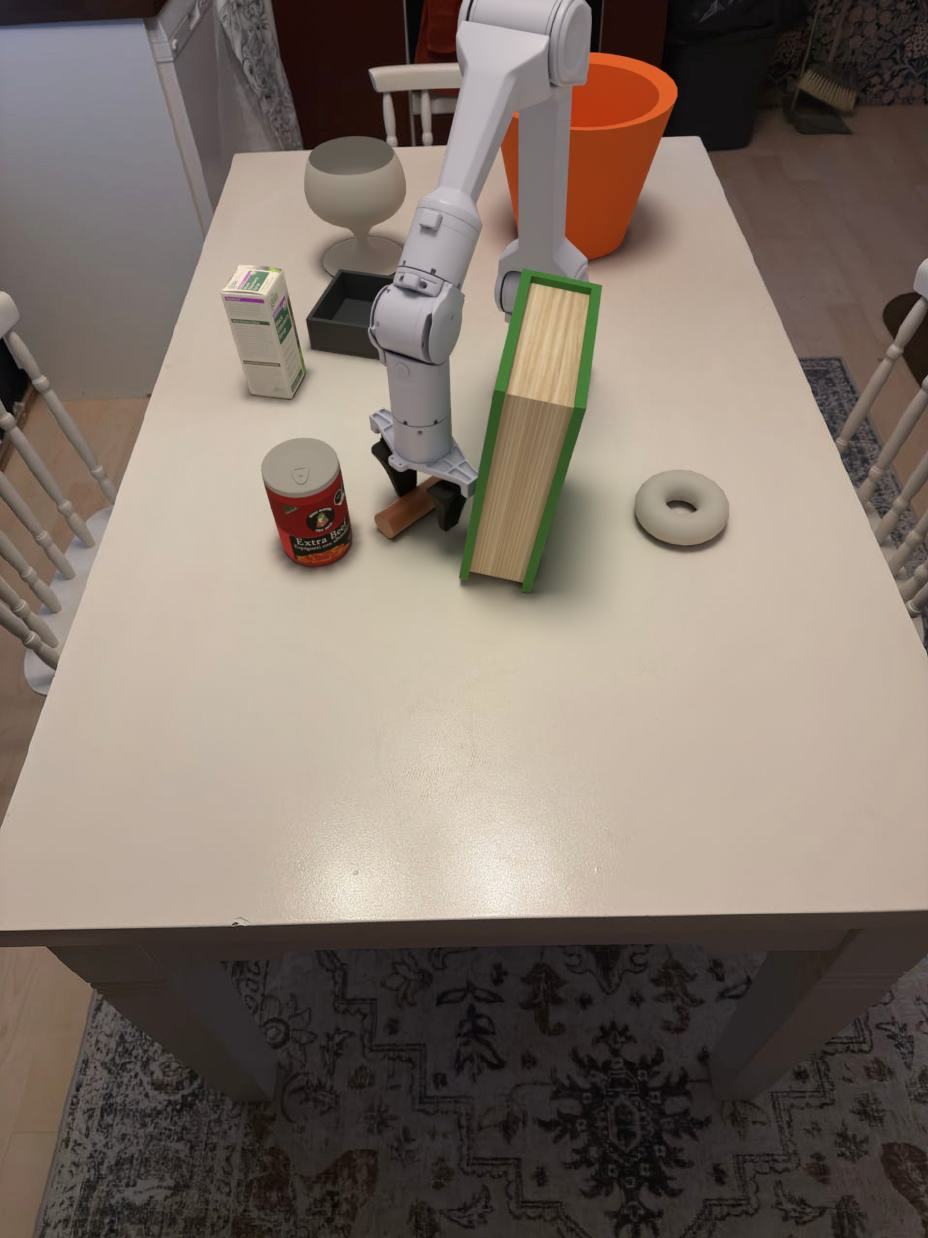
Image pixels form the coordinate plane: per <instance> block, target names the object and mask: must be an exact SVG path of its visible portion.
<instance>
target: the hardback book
mask: <svg viewBox="0 0 928 1238" xmlns="http://www.w3.org/2000/svg"><path fill="white" fill-rule="evenodd" d="M602 291H603V285H602V284H600V283H599V284H598V283H594V282H590V281H589V282H585V281H580V280H576V279H571V278H566V277H561V276H557V275H552V274H547V273H542V272H538V271H533V270H528V269H524V268H523V270H522V274H521V278H520V282H519V286H518V291H517V295H516V299H515V303H514V307H513V312H512V316H511V320H510V324H509V323H508V327H507V328H508V329H507V334H506V337H505V341H504V345H503V350H502V353H501V358H500V363H499V366H498V371H497V375H496V379H495V384H494V388H493V393H492V398H491V403H490V409H489V414H488V419H487V424H486V430H485V434H484V441H483V447H482V452H481V457H480V463H479V467H478V478H477V483H476V488H475V494H474V495H473V499H472V505H471V511H470V515H469V521H468V526H467V533H466V537H465V538H466V539H465V542H464V549H463V554H462V558H461V564H460V569H459V574H458V579H460V580H465V581H469V580H468V579H469V575H470V572H471V573H476V574H480V575H486V576H490V577H495V578H499V579H505V580H509V581H513V582H519V583H521V589H520V592H522V593H526V594H531V591H532V587H533V585H534V581H535V579H536V575H537V572H538V568H539V566H540V563H541V558H542V555H543V552H544V548H545V546H546V542H547V539H548V537H549V536H548V534H549V532H550V529H551V526H552V522H553V519H554V516H555V513H556V510H557V506H558V502H559V501H560V497H561V493H562V490H563V486H564V483H565V479H566V476H567V475H568V474H567V473H568V471H569V467H570V464H571V460H572V457H573V453H574V450H575V447H576V445H577V444H576V443H577V441H578V437H579V434H580V431H581V427H582V424H583V421H584V418H585V415H586V411H587V405H588V398H589V391H590V382H591V375H592V367H593V360H594V354H595V353H594V352H595V345H596V336H597V331H598V321H599V316H600V315H599V314H600V307H601V306H600V305H601V298H602Z"/></svg>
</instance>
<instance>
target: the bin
mask: <svg viewBox="0 0 928 1238" xmlns="http://www.w3.org/2000/svg"><path fill="white" fill-rule="evenodd" d="M394 277H395V275H389V276H388V275H380V274H373V273H365V272H358V271H351V270H343V269H339V270H338V272H337V273H336V275H335V276H333V277H332V279H331V280H330V282H329V283H328V285H327V286H326V288H325V289H324V290H323V292H322V293H321V296H320V297H319V298H318V300H317V301H316V302H315V304H314V306H313V307H312V308H311V310H310V311H309V313H308V314H307V316H306V317H305V323H306V328H307V333H308V338H309V343H310V348H311V350H314V351H315V350H316V351H323V352H328V353H334V354H335V353H336V354H341V355H346V356H347V355H348V356H353V357H360V358H366V359H373V360H374V359H375V360H379V361H380V357H379V351H378V349H377V348H376V347H375V346H374V345H373V344H372V343H371V341H370V338H369V334H368V329H369V327H370V315H371V309H372V306H373V303H374V300H375V298H376V296H377V294H378V293H379V291H380V290H381V289H382V288H383V287H385V286H387V285H391V284H392V283H393V280H394Z"/></svg>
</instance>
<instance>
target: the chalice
mask: <svg viewBox="0 0 928 1238" xmlns="http://www.w3.org/2000/svg"><path fill="white" fill-rule="evenodd" d="M303 179H304V180H303V188H304V189H303V191H304V196H305V199H306V203H307V205H308V207H309V209H310V210H311V211H312V212H313V213H314V214H315V215H316V217H318V218H319V219H320V220H321V221H323V222H325V223H328V224H330V225H332V226H335V227H339V228H343V229H346V230H349V231H350V232H351V233H352V234H353V236H354V237H353V238H349V239H346V240H342V241H340V242H338V243H336V244H335V245H333V246H332V247H331V248H330V249H328V250H327V252H326V253H325V254H324V256H323V261H322V264H323V267H324V269H325V270H326V271H327V272H328V273H329V274H330V275H331V276H333V277H334V276H335V275H336V273H337V272H338V270H339V269H343V270H351V271H358V272H365V273H373V274H380V275H388V276H392V275H393V274H394V273H396V271H397V268H398V265H399V261H400V258H401V255H402V252H403V249H404V248H402V247H401V246H400V245H399V244H397V243H396V242H395V241H392V240H390V239H388V238H384V237H380V236H379V237H378V236H369V233H370V231H371V230H372V229H373V227H375V226H378V225H379V224H382V223H384V222H386V221H387V220H389V219H391V218H393V216H394V215H395V214H397V213H398V212H399V210H400V209H401V207H402V206H403V204H404V202H405V200H406V195H407V180H406V175H405V171H404V168H403V164H402V163H401V160H400V158H399V156H398V154H397V153H396V151H395V149H394V148H393V147H392V145H390V144H389V142H386V141H384V140H382V139H379V138H376V137H372V136H363V135H362V136H361V135H355V136H354V135H353V136H342V137H337V138H334V139H330V140H327V141H325V142H322V143H321V144H318V145H317V146H315V147H314V148H313V149H312V150H311V152H310V153H309V155H308V156H307V160H306V163H305V169H304V178H303Z"/></svg>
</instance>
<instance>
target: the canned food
mask: <svg viewBox="0 0 928 1238" xmlns="http://www.w3.org/2000/svg"><path fill="white" fill-rule="evenodd" d="M260 469H261V470H260V471H261V477H262V478H261V479H262V482H263V485H264V489H265V492H266V495H267V499H268V502H269V507H270V510H271V513H272V516H273V519H274V523H275V526H276V529H277V533H278V536H279V540H280V544H281V546H282V548H283V550H284V551H285V553H286V554H287V555H288V556H289V558H290V559H292V561H295V563H297V564H301V565H303V566H308V567H318V566H319V567H321V566H325V565H329V564H331V563H333V562H335V561H337V560H338V559H340V558H342V556H343V555H345V553H346V552H347V551H348V549H349V547H350V545H351V541H352V537H353V528H352V522H351V516H350V511H349V505H348V501H347V500H348V499H347V495H346V489H345V483H344V478H343V474H342V473H343V472H342V468H341V462H340V459H339V457H338V454H337V452H336V450H335V449H334V448H333V447H332V446H331V445H330V444H329V443H327V442H326V441H324V440H320V439H317V438H312V437H296V438H291V439H288V440H285V441H283V442H281V443H279V444H277V445H275V446H273V448H271V449H270V450H269V451H268V452H267V453H266V454H265V456H264V457H263V460H262V462H261V465H260Z"/></svg>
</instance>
